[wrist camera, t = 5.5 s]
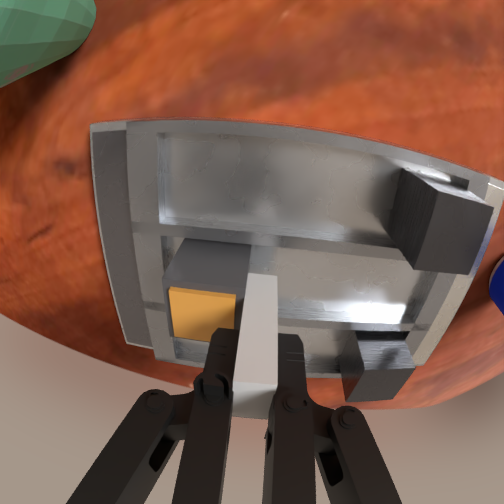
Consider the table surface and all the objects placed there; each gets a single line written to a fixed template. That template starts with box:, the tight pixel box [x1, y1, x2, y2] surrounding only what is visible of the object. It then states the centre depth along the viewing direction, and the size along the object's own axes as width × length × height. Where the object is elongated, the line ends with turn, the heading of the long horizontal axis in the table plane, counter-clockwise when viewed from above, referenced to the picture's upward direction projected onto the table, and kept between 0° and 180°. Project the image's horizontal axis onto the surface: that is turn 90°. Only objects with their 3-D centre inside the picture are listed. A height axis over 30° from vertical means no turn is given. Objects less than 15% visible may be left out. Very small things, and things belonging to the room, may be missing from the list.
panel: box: [90, 117, 504, 402], centre depth 16 cm, size 26×17×6 cm, turn 85°
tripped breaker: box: [162, 238, 252, 343], centre depth 15 cm, size 4×4×4 cm
